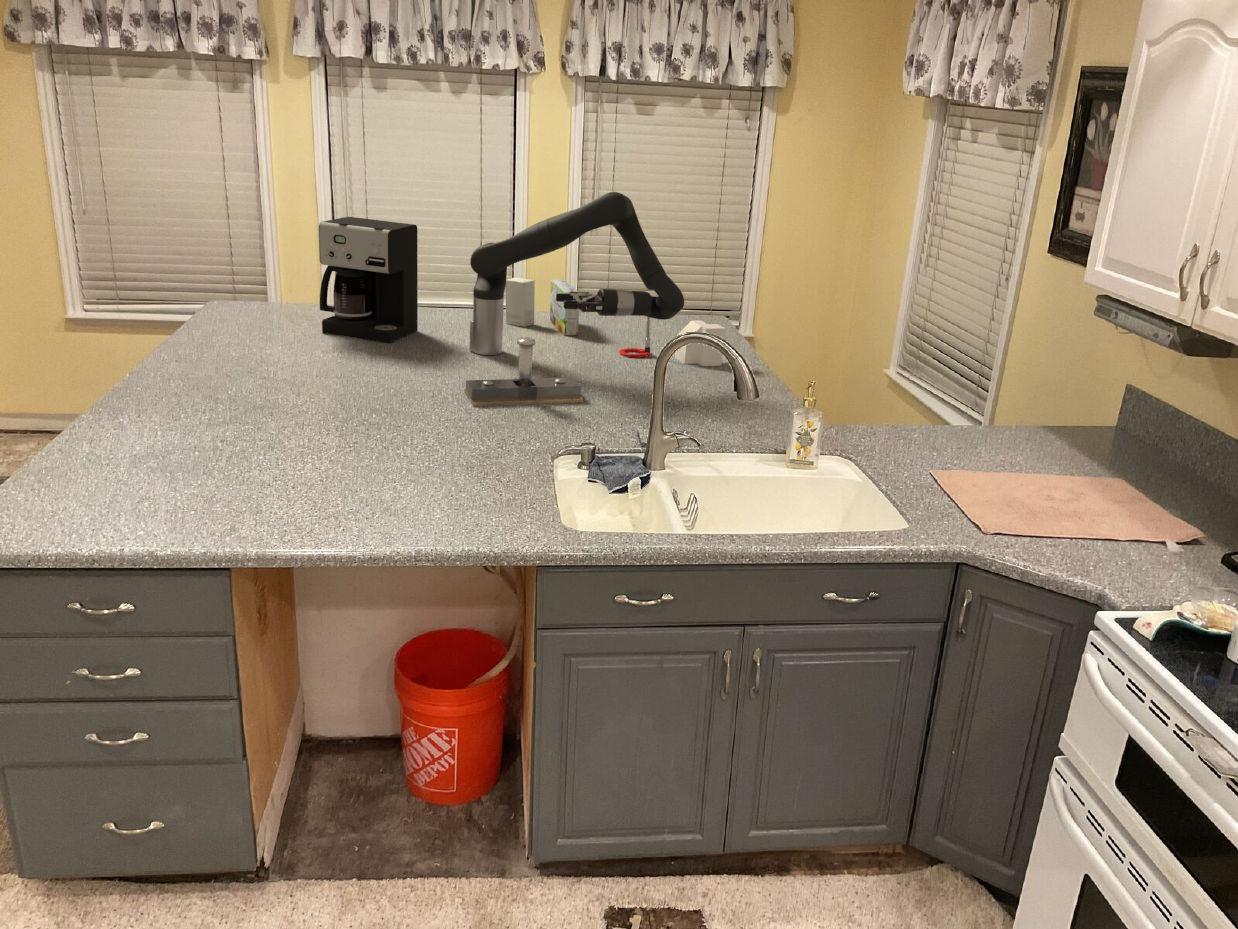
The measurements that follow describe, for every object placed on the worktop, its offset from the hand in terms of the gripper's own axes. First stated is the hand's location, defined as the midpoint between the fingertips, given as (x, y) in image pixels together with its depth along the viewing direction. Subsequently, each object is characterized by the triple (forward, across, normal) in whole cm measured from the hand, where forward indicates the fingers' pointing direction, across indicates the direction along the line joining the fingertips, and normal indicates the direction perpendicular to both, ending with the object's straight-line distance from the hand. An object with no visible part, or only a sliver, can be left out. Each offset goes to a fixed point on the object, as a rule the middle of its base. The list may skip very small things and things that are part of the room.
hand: (560, 300), depth 281 cm
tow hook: (-34, -28, +23) cm, 50 cm away
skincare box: (-6, -69, +25) cm, 73 cm away
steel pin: (+12, +13, +23) cm, 29 cm away
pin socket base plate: (+12, +13, +24) cm, 30 cm away
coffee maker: (+47, -60, +26) cm, 81 cm away
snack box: (-20, -62, +24) cm, 70 cm away
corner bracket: (-52, -18, +23) cm, 60 cm away
